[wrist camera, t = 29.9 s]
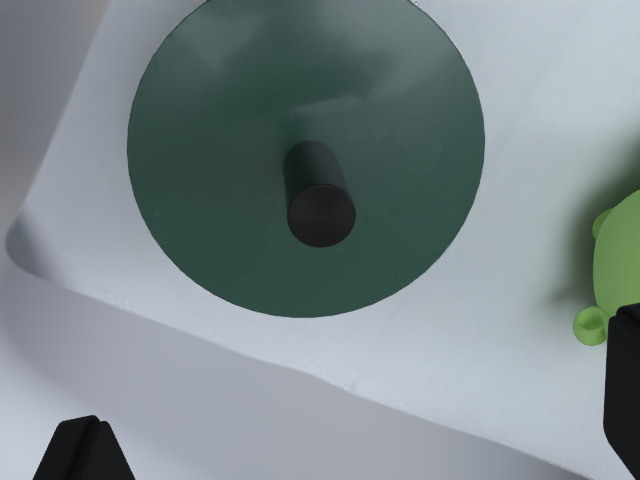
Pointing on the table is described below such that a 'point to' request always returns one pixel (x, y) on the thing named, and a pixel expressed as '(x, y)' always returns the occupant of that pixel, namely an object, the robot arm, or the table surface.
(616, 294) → the teapot
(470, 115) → the pot lid
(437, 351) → the table surface
